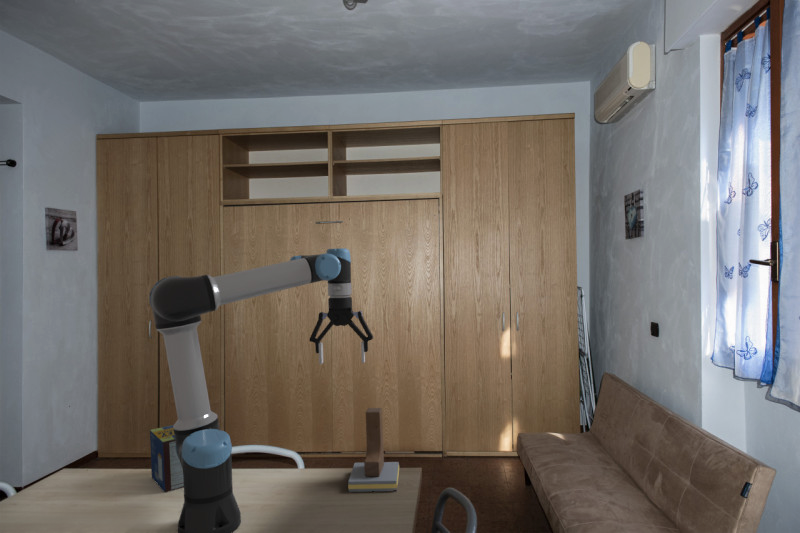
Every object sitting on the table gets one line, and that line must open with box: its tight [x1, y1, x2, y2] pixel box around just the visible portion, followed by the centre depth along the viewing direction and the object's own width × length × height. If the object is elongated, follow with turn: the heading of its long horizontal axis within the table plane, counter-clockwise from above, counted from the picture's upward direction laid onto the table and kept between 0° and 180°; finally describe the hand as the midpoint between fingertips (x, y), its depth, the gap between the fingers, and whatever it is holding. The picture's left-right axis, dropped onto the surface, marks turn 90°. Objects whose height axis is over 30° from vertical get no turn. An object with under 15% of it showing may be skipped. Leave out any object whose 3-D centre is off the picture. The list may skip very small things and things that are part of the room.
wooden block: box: [363, 407, 385, 477], centre depth 154 cm, size 9×4×18 cm, turn 173°
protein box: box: [149, 424, 184, 493], centre depth 160 cm, size 10×15×16 cm
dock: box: [347, 461, 400, 493], centre depth 154 cm, size 14×14×3 cm
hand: (342, 362), depth 162 cm, fingers open, 13 cm apart
